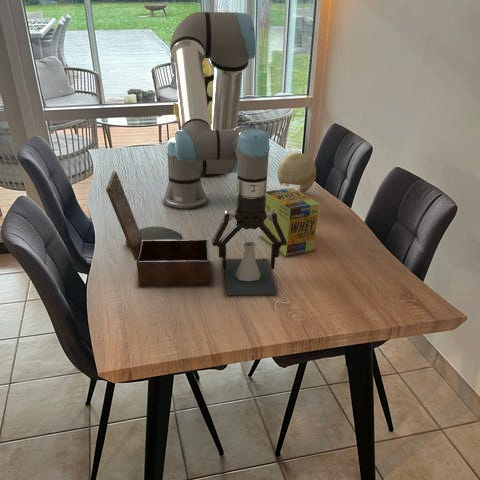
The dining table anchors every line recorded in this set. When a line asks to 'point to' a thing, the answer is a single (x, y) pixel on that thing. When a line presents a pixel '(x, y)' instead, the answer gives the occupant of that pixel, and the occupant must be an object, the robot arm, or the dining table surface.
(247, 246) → the flask
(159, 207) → the dining table surface
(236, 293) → the place mat
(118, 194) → the lid
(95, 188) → the dining table surface
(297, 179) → the beige round ball
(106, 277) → the dining table surface
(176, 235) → the dark grey disc
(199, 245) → the open wooden box
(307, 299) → the dining table surface
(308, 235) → the protein box
